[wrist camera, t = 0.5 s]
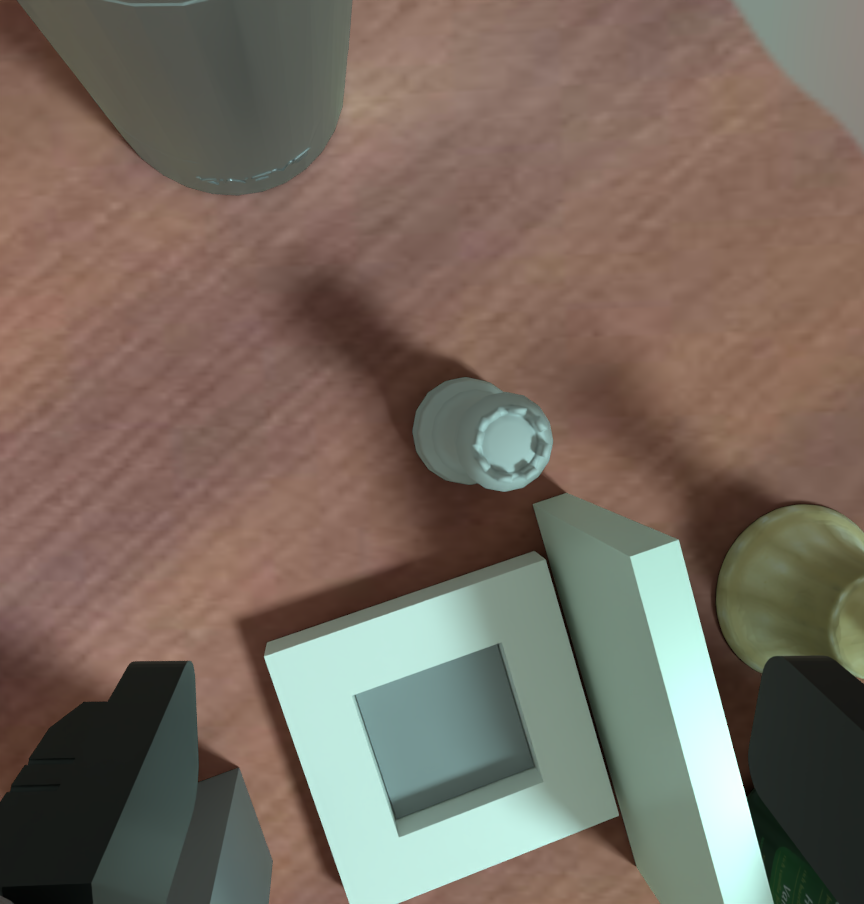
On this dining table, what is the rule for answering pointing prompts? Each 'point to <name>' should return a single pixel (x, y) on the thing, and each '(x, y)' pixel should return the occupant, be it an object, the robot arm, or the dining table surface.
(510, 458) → the rook chess piece
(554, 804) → the socket
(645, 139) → the dining table surface
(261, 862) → the plug
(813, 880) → the coffee jar
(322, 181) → the dining table surface
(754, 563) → the hand bell
